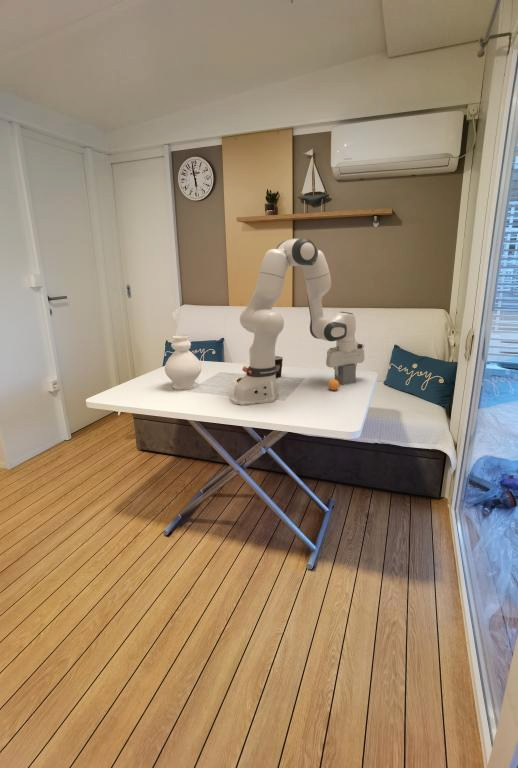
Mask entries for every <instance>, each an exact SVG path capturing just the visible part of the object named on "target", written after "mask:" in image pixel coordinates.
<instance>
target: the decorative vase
mask: <svg viewBox="0 0 518 768" xmlns="http://www.w3.org/2000/svg"><path fill="white" fill-rule="evenodd" d="M188 338H189V335H187V334H181V335H173V336H172V339H173V341H172V342H171V344H170V346H171V348H172V350H174V351H173V352H172V354H171V355H170V356H169V357H168V359H167V360H166V362H165V365H164V372H165V375H166V376H167V378H169V379H170V381H172V383H173V384H172V386H171V388H172V387H173V388H174V389H173V388H172V389H173V390H177V389H186V390H192V389H194V388H196V387H198V385H199V384H198V383H197V382H196V380H198V377H199V376H200V374H201V373H202V370H203V369H202V367H203V366H202V362H201V361H200V360H199V358H198V357H197V356H196V355H195V354H194V353H193V352H192V351H190V350H189V349H190V347H191V346H192V342H191V341H190V340H189V339H188Z"/></svg>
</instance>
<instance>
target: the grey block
mask: <svg viewBox="0 0 518 768" xmlns="http://www.w3.org/2000/svg"><path fill="white" fill-rule="evenodd" d="M338 371H340V375H336V374H335V373H334V379H335V380H337V381H338V382H339V385H342V386H344V384H345V385H349V384H354V383H356V376H357V375H356V374H357V366H356V365H354V364H350V365H344V366H338Z"/></svg>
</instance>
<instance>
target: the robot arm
mask: <svg viewBox="0 0 518 768" xmlns="http://www.w3.org/2000/svg"><path fill="white" fill-rule="evenodd" d="M290 266H291V267H301V269H302V271H303V277H304V281H305V283H306V284H305V285H306V292H307V293H306V294H307V305H308V309H309V316H310V321H309V331H310V334H311V336H312V337H313V338H315V339H318V340H323V341H327V342H336V344H335V345H336V346H334V347H329V349H327V350H326V351H327V352H326V361H325V365H326V367H328V368H333V370H334V375H335V374H336V375H340V371H338V366H344V365H350V364H354V365H356V367H357V366H358V364H362V363H363V362H364V361H365V350H364V347H365V344H364V343H361V342H357V341H356V335H355V334H356V329H357V328H356V327H357V324H356V316H355V314H354V313H353V312H349V311H348V312H347V311H338V313H337V314H336V315H335V316H334V317H332V318H330V319H327V317H325V315H324V310H323V302H322V299H323V297H324V296H325V295H326V294H327V293H328V292H329V291H330V289H331V287H332V277H331V273H330V269H329V265H328V262H327V259H326V257H325V255H324V252H323V251H322V250H319V249H317V247H316V245H315V243H314V242H313V241H312V240H311V239H309V238H306V237H305V238H303V237H302V238H301V237H300V238H290V239H288V240H283V241H281V243H279V244H278V245H277V246H276V248H271V249H269V250H267V251H266V252H265V255H264V257H263V259H262V262H261V264H260V267H259V271H258V276H257V279H256V283H255V288H254V291H253V294H252V296H251V299H250V301H249V302H248V304H247V306H246V308H245V309H244V310H243V311H242V312H241V313H240V317H239V323H240V325H241V327H242V328H244V329H245V330H246V331H247V332H249V333H253V336H254V337H253V340H252V341H253V342H252V344H251V346H250V347H249V351H248V352H249V366H248V367H246V366H243V367H242V371H243V372H245V374H246V375H244V376H243V378H241V379H240V380H239V381H238V382H236V384H235V385H234V390H233V393H232V394H230V395H228V398H229V401H230V400H231V401H232V402H231V401H230V402H231V403H233V402H234V403H233V404H235V403H236V404H235V405H237V404H240V405H239V406H246V405H245V404H250V405H256V404H255V403H259V404H264V403H265V404H266V403H274V402H275V401H276V400H277V399H278V398H279V397H280V392H279V389H278V388H279V387H278V384H277V383H278V382H277V378H276V365H275V356H276V345H277V340H278V337H279V335H280V334H281V333H282V331H283V330H284V327H285V326H284V325H285V322H284V321H285V320H284V318H283V316H282V315H281V314H280V313H279V312H277V311H275V310H272V308H273V307H274V305H275V303H276V302H277V301H279V299H280V298H281V294H282V291H283V286H284V283H285V277H286V274H287V273H286V272H287V270H288V268H289V267H290Z"/></svg>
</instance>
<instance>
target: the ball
mask: <svg viewBox="0 0 518 768" xmlns="http://www.w3.org/2000/svg"><path fill="white" fill-rule="evenodd" d="M327 385H328V389H330V390H331V391H336V390H338V389H339V387H340V383H339V382H338V381H337V380H335V378H334V379H333V378H332V379H330V380H329V382H328V383H327Z"/></svg>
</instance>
